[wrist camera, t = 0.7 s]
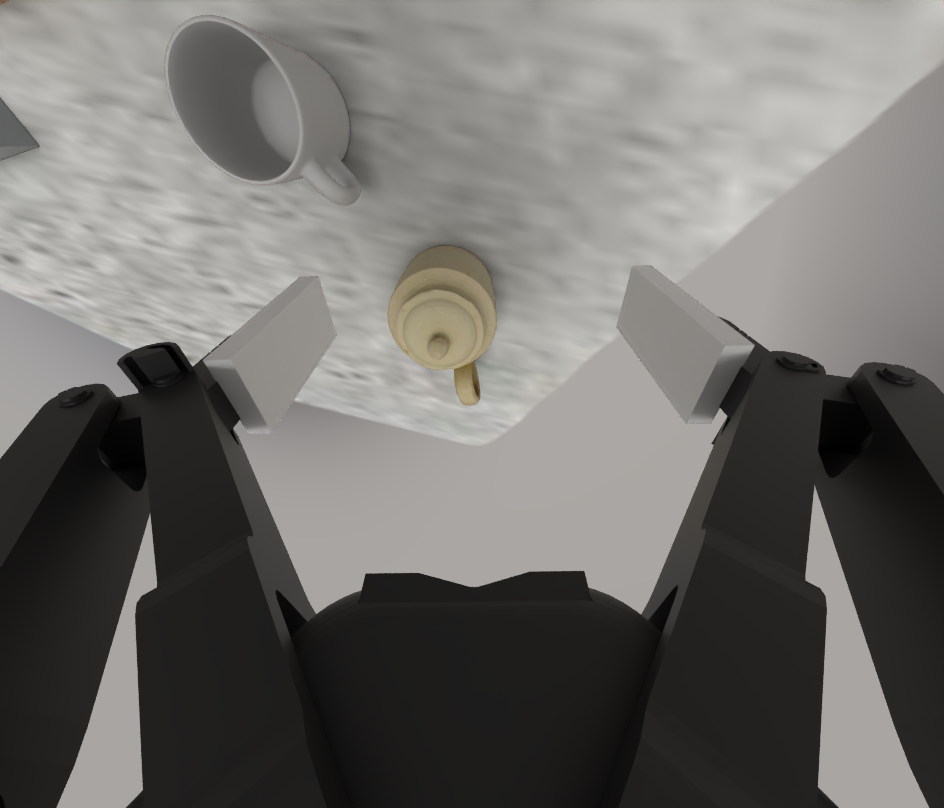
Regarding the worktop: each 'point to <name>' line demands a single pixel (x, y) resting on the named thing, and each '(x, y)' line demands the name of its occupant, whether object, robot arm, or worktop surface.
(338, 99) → the mug
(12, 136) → the grey crate
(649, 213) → the worktop surface
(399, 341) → the beige teapot
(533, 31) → the worktop surface
